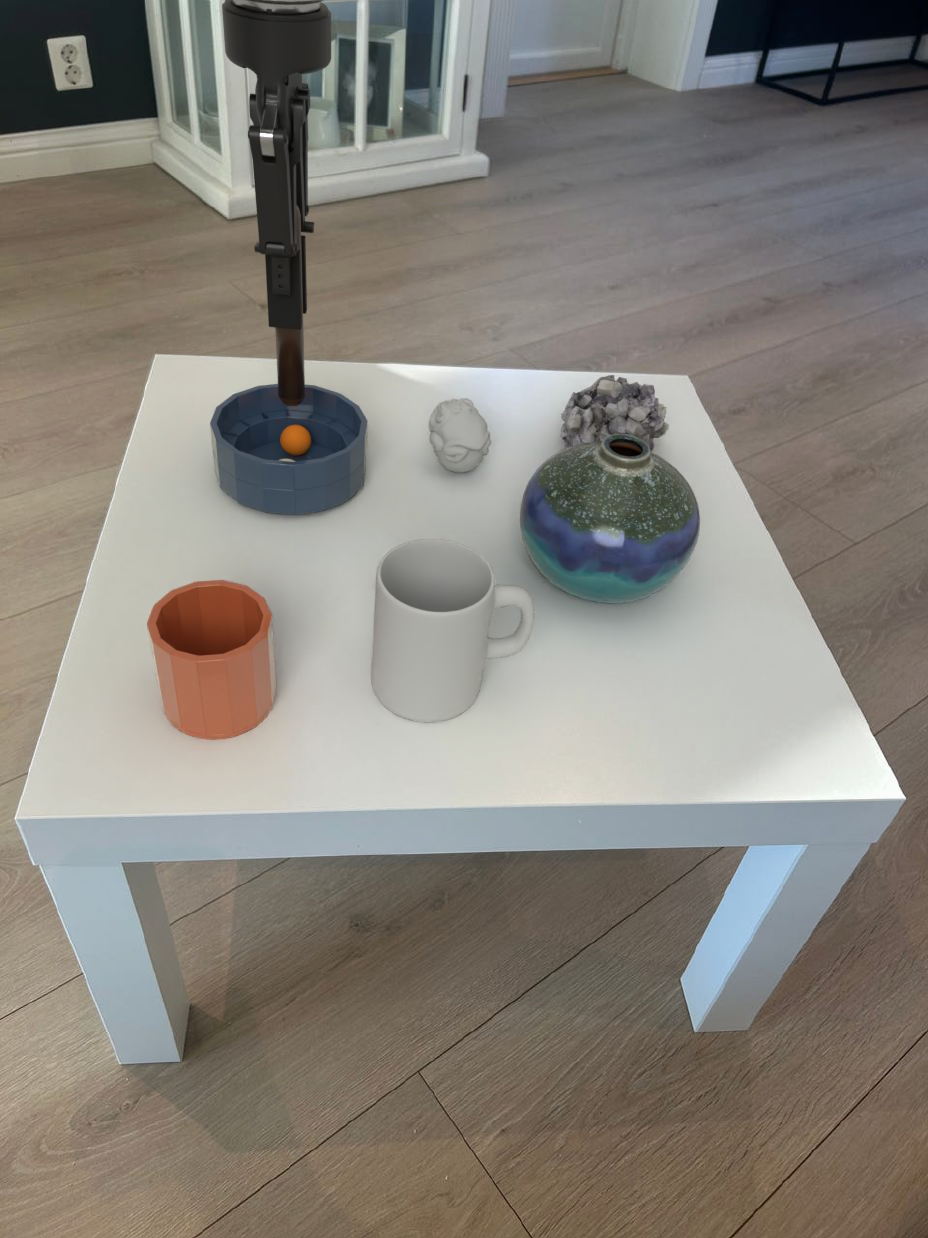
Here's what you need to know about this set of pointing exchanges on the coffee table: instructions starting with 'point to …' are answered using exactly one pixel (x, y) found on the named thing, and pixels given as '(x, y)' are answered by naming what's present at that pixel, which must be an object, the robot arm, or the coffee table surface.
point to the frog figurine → (458, 435)
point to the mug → (438, 628)
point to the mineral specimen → (613, 412)
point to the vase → (609, 520)
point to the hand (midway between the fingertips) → (288, 317)
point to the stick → (291, 352)
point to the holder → (213, 658)
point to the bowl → (254, 451)
